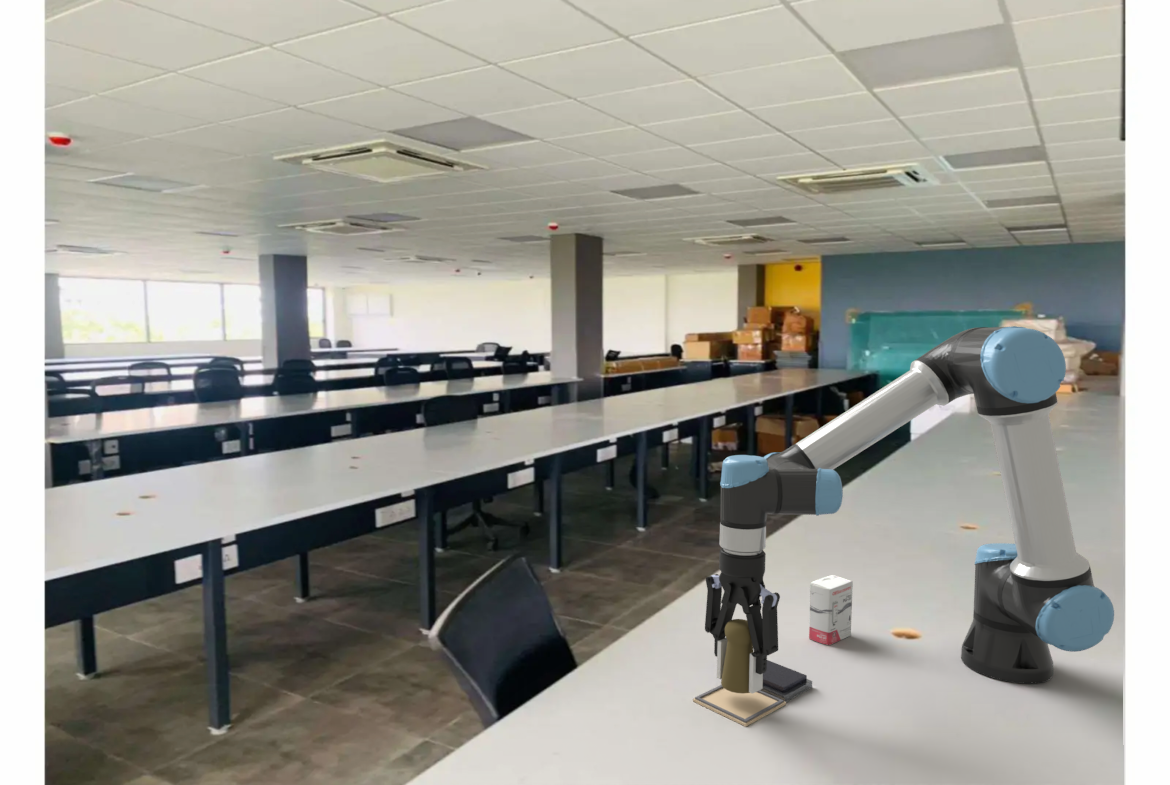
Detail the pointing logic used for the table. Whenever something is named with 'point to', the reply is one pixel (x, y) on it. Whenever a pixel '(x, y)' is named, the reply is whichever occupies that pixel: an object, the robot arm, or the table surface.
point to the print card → (739, 704)
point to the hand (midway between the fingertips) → (739, 682)
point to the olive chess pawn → (737, 656)
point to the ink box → (830, 609)
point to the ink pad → (784, 682)
